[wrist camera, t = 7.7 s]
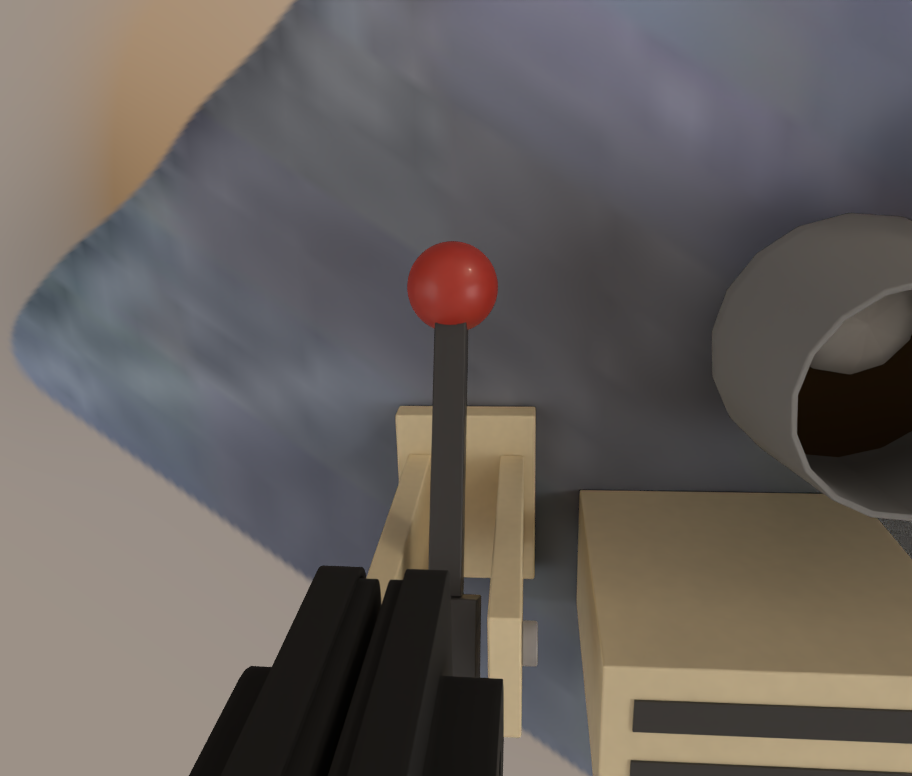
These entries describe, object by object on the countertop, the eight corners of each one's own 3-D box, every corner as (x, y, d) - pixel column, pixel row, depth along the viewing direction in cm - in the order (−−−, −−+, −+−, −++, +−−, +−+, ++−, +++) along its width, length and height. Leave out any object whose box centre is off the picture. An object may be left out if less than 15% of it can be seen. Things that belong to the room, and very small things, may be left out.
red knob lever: (415, 260, 30) (402, 227, 27) (499, 259, 30) (496, 226, 27) (402, 675, 27) (386, 693, 24) (495, 679, 27) (491, 697, 24)
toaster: (579, 489, 36) (603, 668, 24) (857, 493, 35) (1018, 682, 23) (576, 603, 38) (596, 817, 26) (838, 610, 37) (978, 837, 25)
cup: (690, 213, 31) (759, 258, 22) (941, 187, 30) (1128, 223, 21) (694, 434, 34) (756, 557, 25) (922, 418, 33) (1078, 540, 24)
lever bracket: (399, 405, 35) (331, 561, 23) (535, 405, 35) (539, 566, 23) (407, 562, 38) (351, 775, 26) (534, 565, 37) (536, 784, 25)
